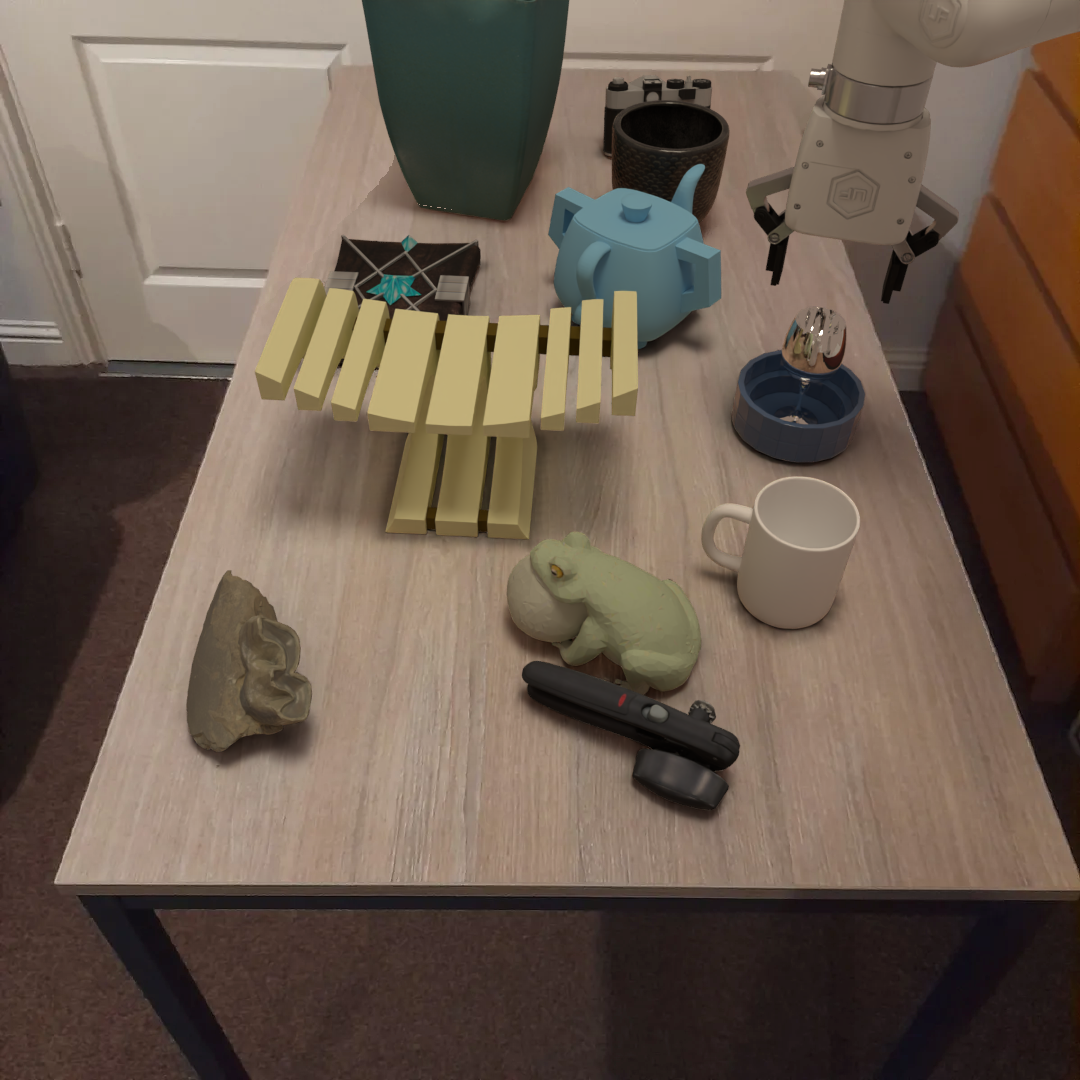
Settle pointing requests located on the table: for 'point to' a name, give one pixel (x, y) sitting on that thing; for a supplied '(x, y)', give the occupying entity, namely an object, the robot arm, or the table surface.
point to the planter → (669, 150)
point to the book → (408, 274)
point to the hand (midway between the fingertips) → (830, 286)
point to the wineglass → (812, 355)
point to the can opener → (645, 732)
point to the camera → (650, 97)
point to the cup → (789, 549)
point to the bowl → (775, 388)
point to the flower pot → (467, 95)
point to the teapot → (635, 255)
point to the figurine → (605, 612)
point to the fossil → (244, 670)
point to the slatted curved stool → (450, 392)
